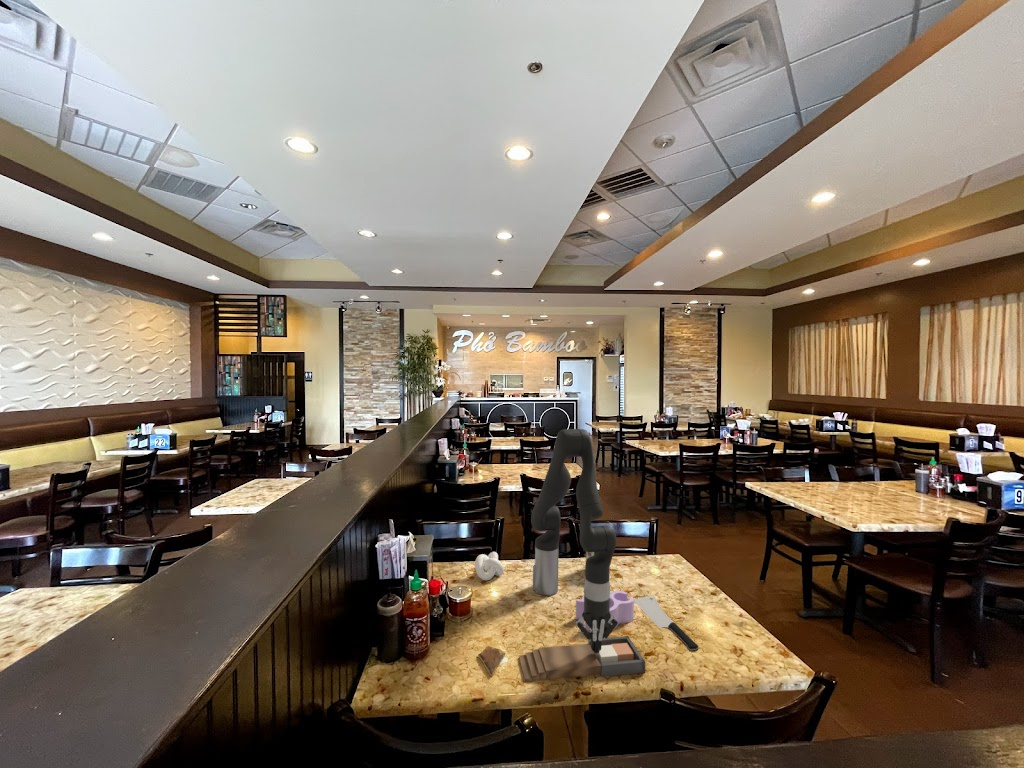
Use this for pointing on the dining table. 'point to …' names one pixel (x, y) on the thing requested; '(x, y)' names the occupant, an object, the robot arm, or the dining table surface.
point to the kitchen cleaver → (663, 619)
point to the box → (622, 666)
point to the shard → (491, 658)
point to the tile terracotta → (623, 652)
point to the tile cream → (607, 654)
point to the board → (569, 661)
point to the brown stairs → (532, 666)
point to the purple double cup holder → (613, 607)
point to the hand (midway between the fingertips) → (596, 651)
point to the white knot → (488, 566)
